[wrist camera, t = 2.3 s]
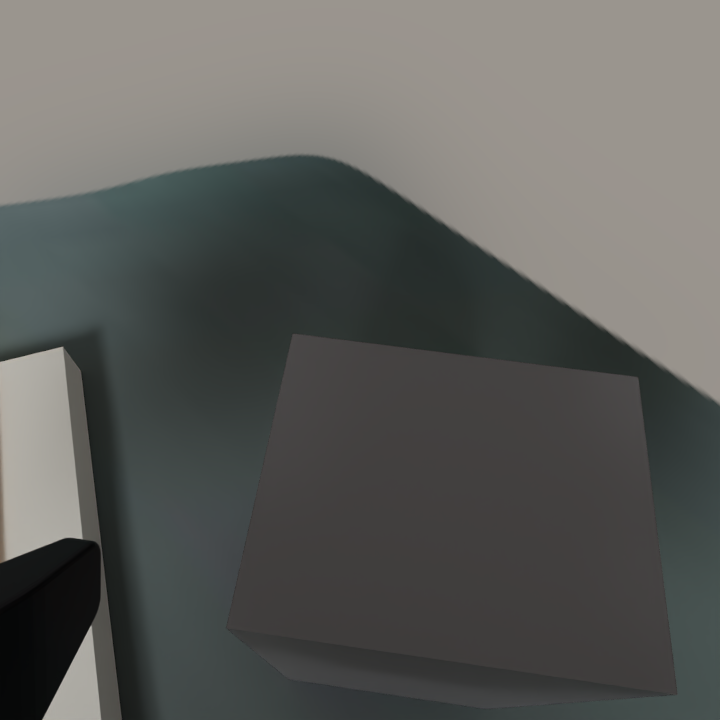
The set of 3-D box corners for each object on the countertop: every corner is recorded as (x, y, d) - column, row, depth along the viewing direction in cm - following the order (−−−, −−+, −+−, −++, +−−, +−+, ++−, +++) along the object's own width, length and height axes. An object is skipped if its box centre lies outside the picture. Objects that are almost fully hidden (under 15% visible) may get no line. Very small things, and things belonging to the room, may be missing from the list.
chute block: (485, 709, 15) (677, 694, 7) (289, 679, 15) (225, 628, 7) (488, 548, 17) (638, 376, 9) (315, 524, 17) (292, 333, 9)
